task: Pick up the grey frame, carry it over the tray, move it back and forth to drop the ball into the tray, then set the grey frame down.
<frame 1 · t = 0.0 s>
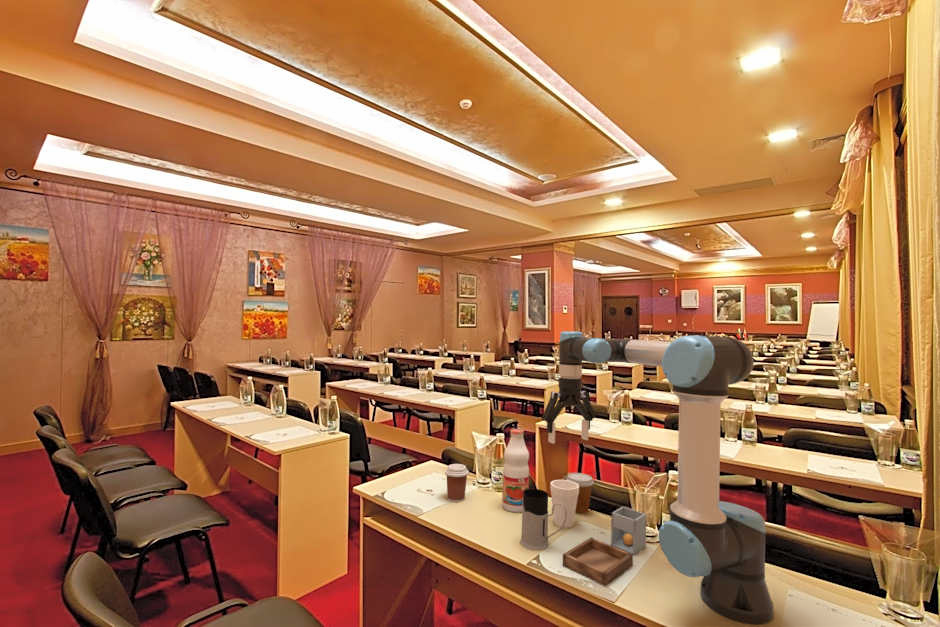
hand: (568, 441, 147), 28 cm above the table, fingers open, 13 cm apart
grey mug: (542, 546, 132), on the table
grey frame: (628, 546, 133), on the table, touching ball
tray: (597, 565, 122), on the table
fruit juice: (515, 508, 159), on the table
ball: (628, 544, 133), point 1 cm above the table, touching grey frame
coffee cup: (455, 499, 166), on the table
foam cup: (563, 524, 147), on the table
disposable coffee cup: (579, 510, 159), on the table
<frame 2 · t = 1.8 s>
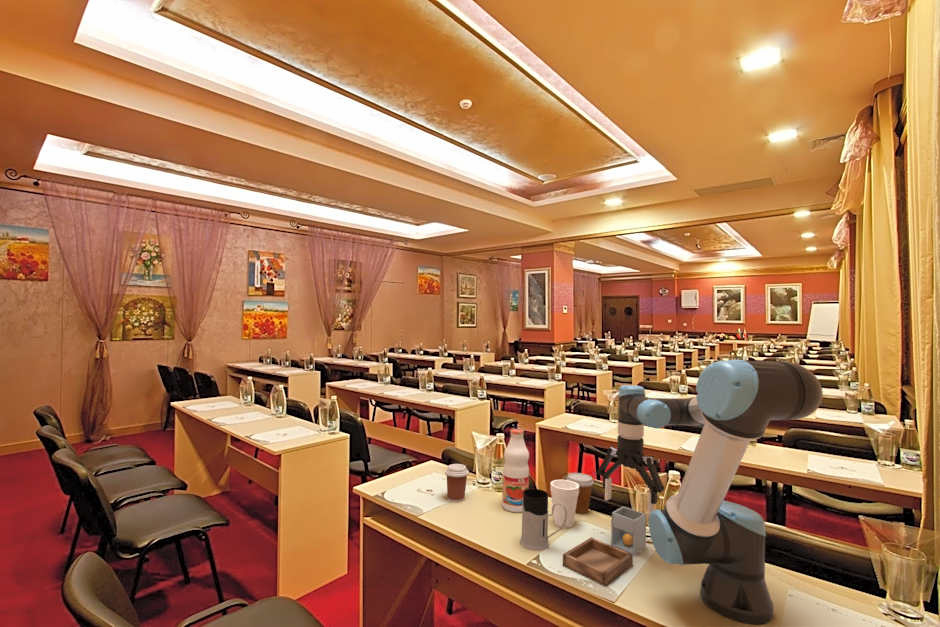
hand: (628, 506, 134), 12 cm above the table, fingers open, 13 cm apart
ball: (628, 544, 133), point 1 cm above the table, tilted 10°, touching grey frame
everything else where it was.
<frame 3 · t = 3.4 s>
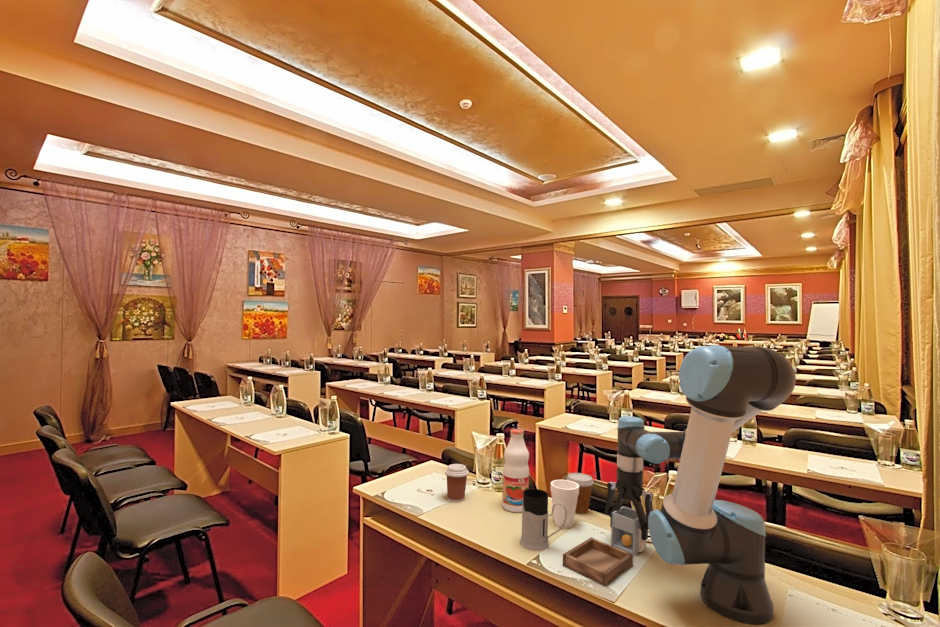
hand: (628, 544, 133), 1 cm above the table, fingers closed on grey frame, 7 cm apart
grey frame: (628, 546, 133), on the table, touching ball, gripper
ball: (628, 543, 133), point 1 cm above the table, tilted 31°, touching grey frame
everything else where it was.
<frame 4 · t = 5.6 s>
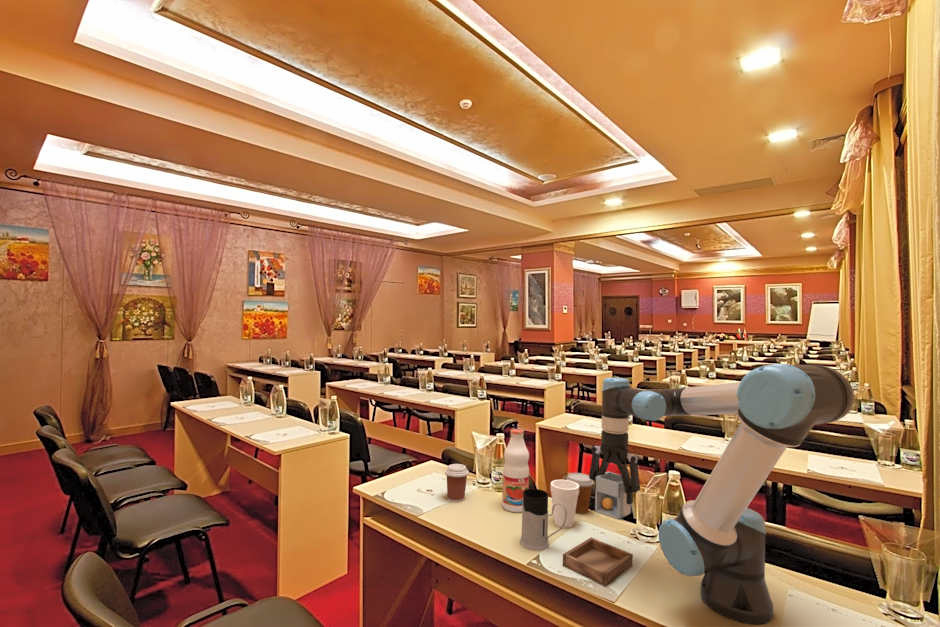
hand: (613, 509, 128), 13 cm above the table, fingers closed on grey frame, 7 cm apart
grey frame: (613, 512, 128), point 12 cm above the table, touching ball, gripper
ball: (612, 507, 128), point 14 cm above the table, tilted 55°, touching grey frame
everything else where it was.
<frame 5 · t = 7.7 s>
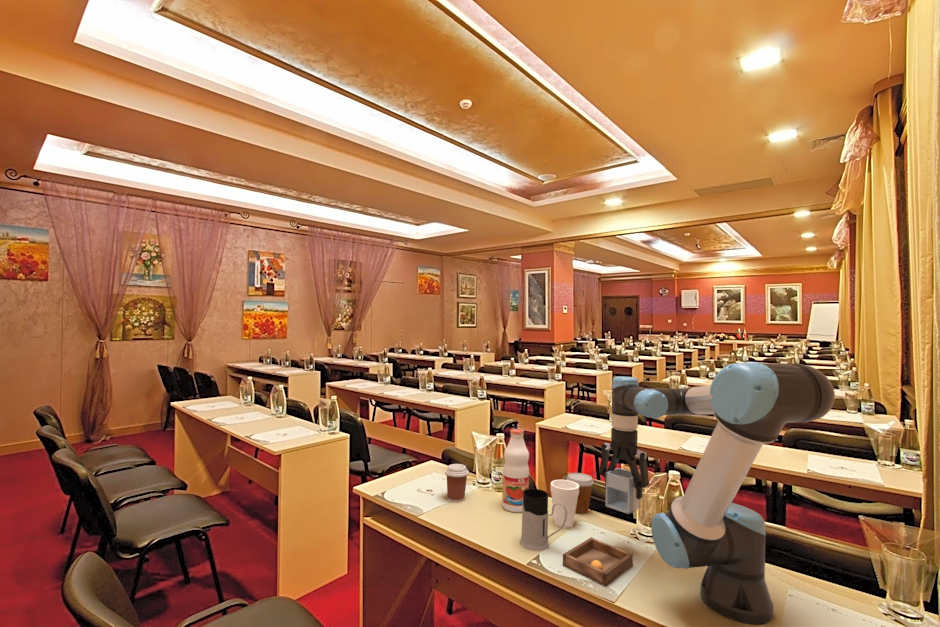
hand: (622, 504, 132), 13 cm above the table, fingers closed on grey frame, 7 cm apart
grey frame: (622, 506, 132), point 12 cm above the table, touching gripper
ball: (595, 573, 116), point 1 cm above the table, tilted 51°, touching tray
everything else where it was.
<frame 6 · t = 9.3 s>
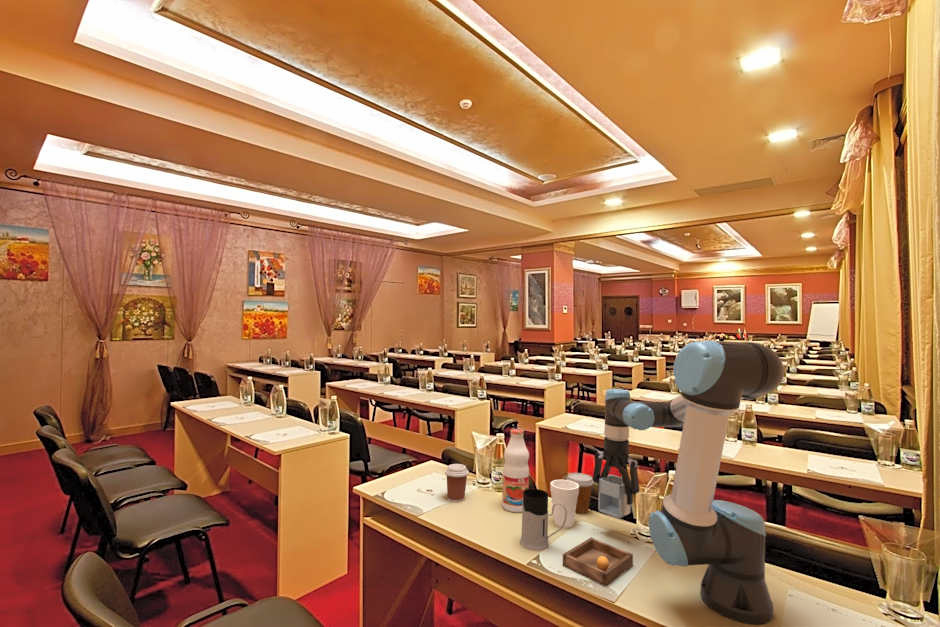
hand: (614, 509, 140), 8 cm above the table, fingers closed on grey frame, 7 cm apart
grey frame: (614, 511, 140), point 8 cm above the table, touching gripper
ball: (603, 558, 118), point 4 cm above the table, tilted 158°, touching tray
everything else where it was.
when the fingers open (2 cm above the table, at t = 10.6 s): grey frame stays where it is, on the table.
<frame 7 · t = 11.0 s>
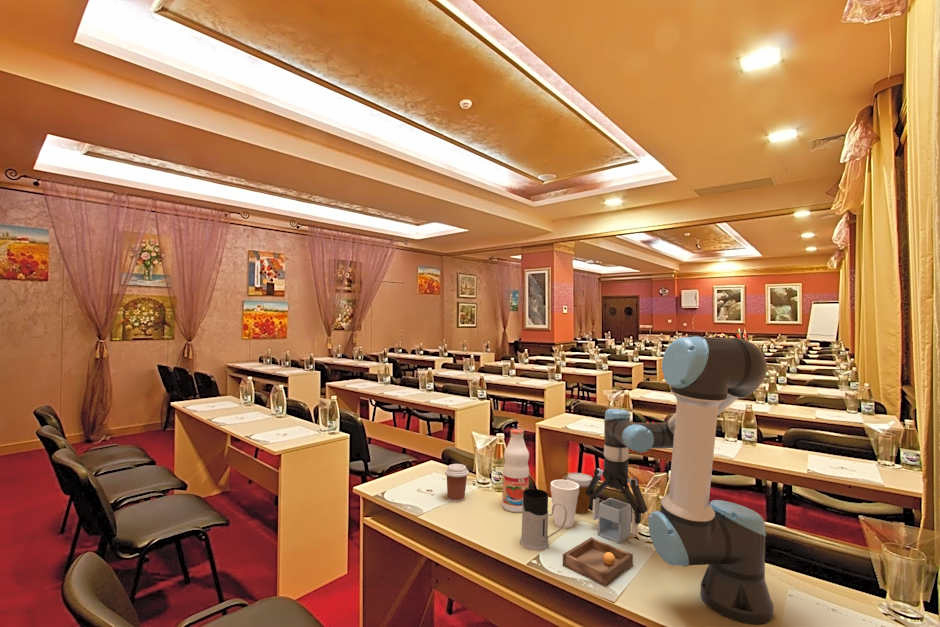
hand: (614, 525, 140), 3 cm above the table, fingers open, 13 cm apart
grey frame: (614, 535, 140), on the table
ball: (613, 558, 122), point 2 cm above the table, tilted 75°, touching tray
everything else where it was.
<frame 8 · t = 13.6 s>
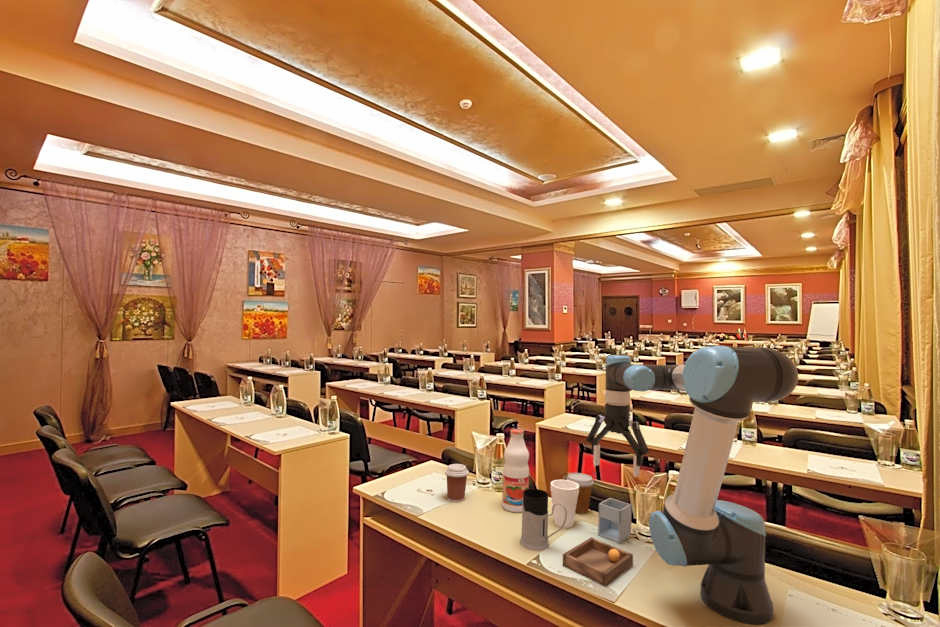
hand: (615, 470, 140), 21 cm above the table, fingers open, 13 cm apart
ball: (614, 561, 122), point 1 cm above the table, tilted 30°, touching tray
everything else where it was.
at the end: ball touching tray; ball 4.8 cm from the tray (horizontally); ball point 0.8 cm above the table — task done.
